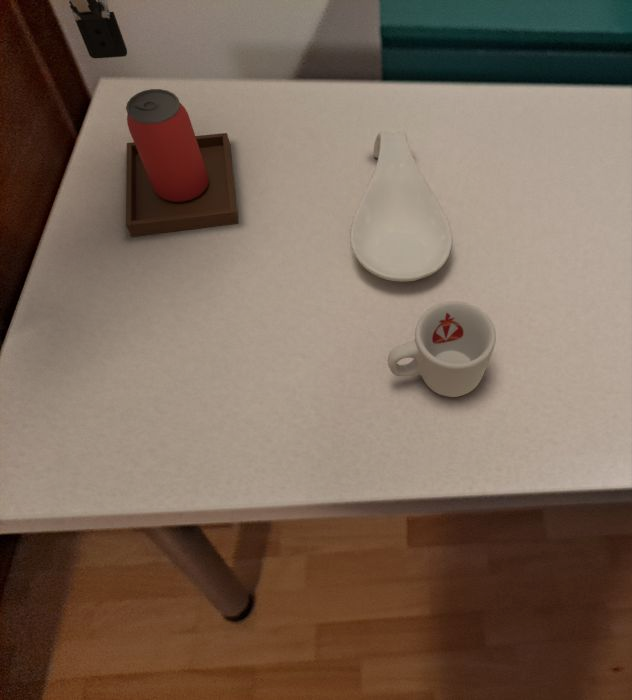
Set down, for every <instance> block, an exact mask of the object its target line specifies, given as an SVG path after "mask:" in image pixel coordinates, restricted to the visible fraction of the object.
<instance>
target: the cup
mask: <svg viewBox="0 0 632 700" xmlns="http://www.w3.org/2000/svg"><path fill="white" fill-rule="evenodd" d="M496 342H497V332H496V328H495V325H494V323H493V321H492V319H491V318H490V317H489V316H488V314H487V313H486V312H485V311H483V310H482V309H480V307H477V306H476V305H474V304H471V303H468V302H464V301H458V300H450V301H444V302H441V303H440V302H439V303H437V304H434V305H433V306H431V307H429V308H428V309H427V310H426V311H425V312H423V313H422V315H420V318H419V319H418V321H417V323H416V326H415V331H414V339H413V340H412V341H410V342H406V343H401V344H399V345H397V346H396V347H394V348H392V349H391V350H390V351H389V353H388V355H387V366H388V368H389V371H390V372H391V374H392V375H394V376H395V377H401V378H405V377H411V376H416V375H417V376H418V375H420V376H421V378H422V379H423V381H424V383H425V384H426V386H427V387H428V388H429V389H430V390H431V391H433V392H434V393H436V394H437V395H440V396H444V397H448V398H457V397H461V396H462V397H463V396H465V395H467V394H469V393H471V392H472V391H473V390H474V389H475V388H476V387H477V386H478V385H479V384H480V382H481V381H482V378H483V377H484V374H485V372H486V369H487V367H488V364H489V362H490V359H491V357H492V354H493V352H494V350H495V349H494V348H495V346H496ZM409 358H411V359H412V360H411V361H410V362H408V363H404V364H398V362H400V361H401V360H405V359H409Z"/></svg>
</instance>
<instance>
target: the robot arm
mask: <svg viewBox="0 0 632 700" xmlns="http://www.w3.org/2000/svg"><path fill="white" fill-rule="evenodd" d="M68 3H69V4H70V5H69V8H70V10H71V13H72V16H73V19H74V20H75V24H76V26H77V28H78V31H79V33H80V36H81V38H82V40H83V42H84V45H85V48H86V50H87V53H88V55H89V57H90V58H92V59H109V58H122V57H123V58H124V57H126V56H128V48H127V45H126V43H125V40H124V37H123V34H122V32H121V28H120V26H119V23H118V20H117V18H116V17H117V16H116V14H115V12H114V11H110V8H109V4H108V0H68Z"/></svg>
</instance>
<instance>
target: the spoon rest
mask: <svg viewBox="0 0 632 700" xmlns="http://www.w3.org/2000/svg"><path fill="white" fill-rule="evenodd" d="M373 156H374V157H375V158H377V162H376V165H375V168H374V171H373V173H372V175H371V178H370V179H369V182H368V184H367V186H366V188H365V190H364V191H363V194H362V196H361V199H360V201H359V203H358V206H357V208H356V211H355V213H354V215H353V218H352V222H351V225H350V231H349V244H350V248H351V251H352V253H353V255H354V257H355V259H356V260H357V261H358V263H359V264H360V265H361V266H362V267H363V268H364V269H366V270H367V271H368V272H369V273H371V274H372V275H374V276H376V277H379V278H381V279H384V280H387V281H393V282H414V281H418V280H421V279H422V280H423V279H424V278H428V277H429V276H431V275H434V274H435V273H436V272H438V271H439V270H440V269H441V268H442V267H443V266H444V265H445V264H446V262H447V261H448V259H449V257H450V255H451V253H452V252H451V251H452V248H453V231H452V228H451V224H450V222H449V220H448V217H447V215H446V213H445V211H444V209H443V207H442V206H441V204H440V203H439V201H438V200H439V199H438V198H437V197H436V195H435V193H434V192H433V190H432V189H431V187H430V186H429V184H428V182H427V181H426V179H425V177H424V175H423V174H422V172H421V170H420V168H419V166H418V164H417V162H416V160H415V157H414V156H413V153H412V150H411V147H410V143H409V139H408V136H407V133H406V132H405V131H399V132H384V131H379V132H378V134H377V136H376V138H375V140H374V145H373Z"/></svg>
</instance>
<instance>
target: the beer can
mask: <svg viewBox="0 0 632 700" xmlns="http://www.w3.org/2000/svg"><path fill="white" fill-rule="evenodd" d="M125 110H126V113H127V115H126V123H127V124H126V125H127V128H128V131H129V133H130V135H131V138H132V142H134V143H135V146H136V148H137V150H138V153H139V155H140V158H141V160H142V162H143V165H144V167H145V170H146V172H147V174H148V177H149V179H150V182H151V184H152V186H153V189H154V191H155V192H156V193H157V195H158V196H159V197H161V198H163V199H165V200H167V201H172V202H185V201H189V200H192V199H194V198H196V197H198V196H200V195H201V194H202V193H203V192H204V191H205V189H206V188H207V186H208V181H209V177H208V174H207V171H206V168H205V165H204V162H203V159H202V155H201V152H200V149H199V146H198V143H197V140H196V137H195V136H196V133H195V131H194V127H193V124H192V121H191V118H190V115H189V113H188V110H187V109H186V108H185V106H184V105H183V104H182V103H181V102H180V99H179V97H178V96H177V95H176V94H175V93H174V92H172V91H169V90H167V89H162V88H151V89H150V88H149V89H146V90H142V91H140V92H137V93H136V94H134V95H133V96H131V97H130V98H129V100H128V101H127V102H126V107H125Z"/></svg>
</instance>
